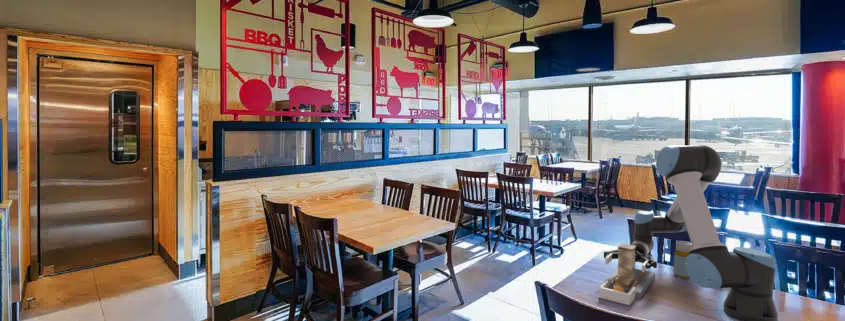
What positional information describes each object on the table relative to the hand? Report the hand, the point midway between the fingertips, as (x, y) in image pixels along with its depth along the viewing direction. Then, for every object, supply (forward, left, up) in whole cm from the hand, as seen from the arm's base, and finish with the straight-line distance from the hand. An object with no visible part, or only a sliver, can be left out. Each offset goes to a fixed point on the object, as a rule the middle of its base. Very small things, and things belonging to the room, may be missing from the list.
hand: (624, 264), depth 167 cm
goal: (0, +8, -11) cm, 14 cm away
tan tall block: (0, -2, -8) cm, 8 cm away
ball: (0, +7, -7) cm, 10 cm away
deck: (0, -9, -11) cm, 14 cm away
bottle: (-16, -32, -11) cm, 38 cm away
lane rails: (0, -7, -8) cm, 11 cm away
